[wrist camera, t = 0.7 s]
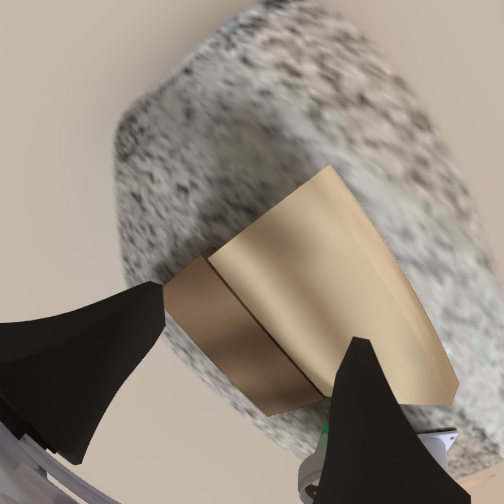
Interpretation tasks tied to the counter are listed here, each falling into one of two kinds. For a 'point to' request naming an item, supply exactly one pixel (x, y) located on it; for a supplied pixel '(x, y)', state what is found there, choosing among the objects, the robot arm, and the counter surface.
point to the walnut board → (236, 339)
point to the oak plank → (335, 291)
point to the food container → (313, 468)
